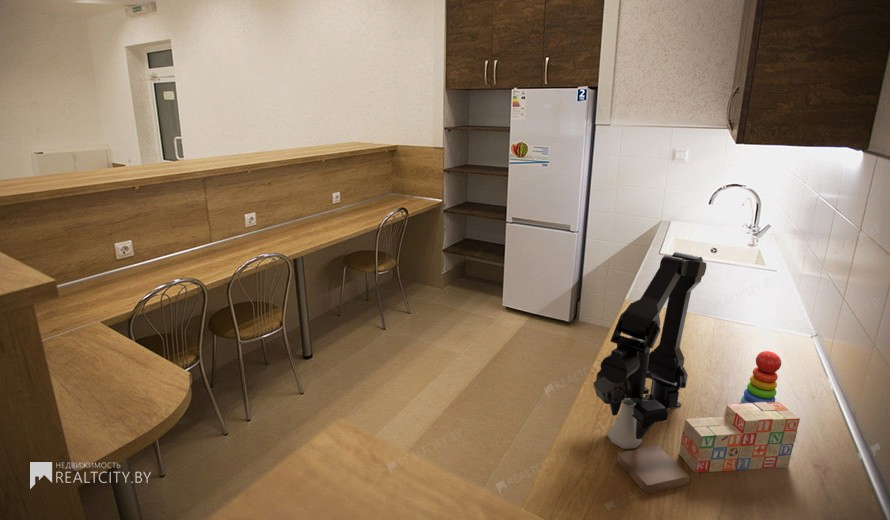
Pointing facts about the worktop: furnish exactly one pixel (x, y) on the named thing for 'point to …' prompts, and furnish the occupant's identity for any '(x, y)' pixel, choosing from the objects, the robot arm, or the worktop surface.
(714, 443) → the stack of blocks
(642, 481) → the plinth
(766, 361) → the stacking toy
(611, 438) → the flask
